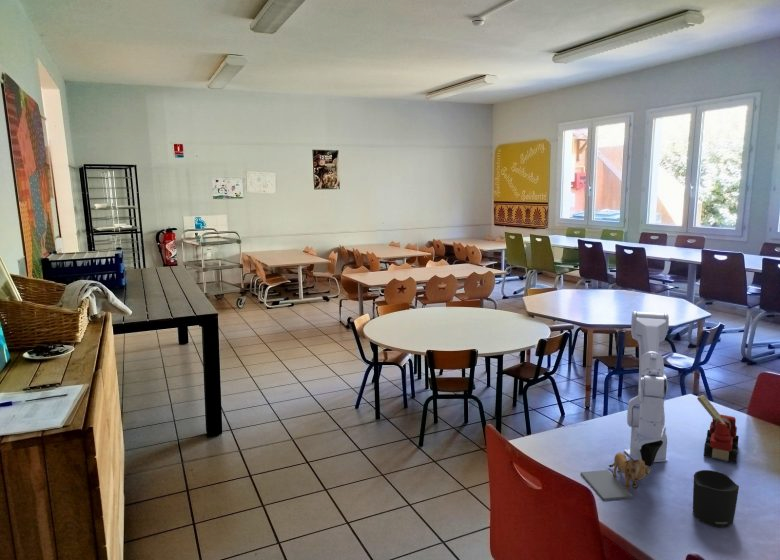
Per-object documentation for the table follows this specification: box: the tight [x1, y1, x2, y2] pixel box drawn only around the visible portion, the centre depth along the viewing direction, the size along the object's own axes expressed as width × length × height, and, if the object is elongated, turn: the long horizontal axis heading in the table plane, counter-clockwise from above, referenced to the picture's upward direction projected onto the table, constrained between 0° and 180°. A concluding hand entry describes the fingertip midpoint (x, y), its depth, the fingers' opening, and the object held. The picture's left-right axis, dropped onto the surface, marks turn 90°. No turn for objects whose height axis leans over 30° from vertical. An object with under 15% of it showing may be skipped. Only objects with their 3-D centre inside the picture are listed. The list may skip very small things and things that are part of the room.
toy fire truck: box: [696, 394, 739, 464], centre depth 163 cm, size 11×16×18 cm
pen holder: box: [692, 469, 740, 528], centre depth 132 cm, size 9×9×10 cm
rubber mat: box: [580, 469, 633, 501], centre depth 147 cm, size 8×13×1 cm, turn 7°
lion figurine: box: [608, 452, 652, 491], centre depth 149 cm, size 15×5×9 cm, turn 14°
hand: (647, 464), depth 148 cm, fingers closed
